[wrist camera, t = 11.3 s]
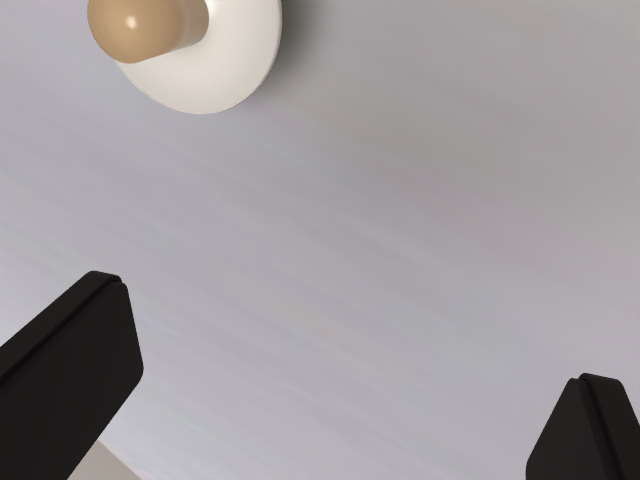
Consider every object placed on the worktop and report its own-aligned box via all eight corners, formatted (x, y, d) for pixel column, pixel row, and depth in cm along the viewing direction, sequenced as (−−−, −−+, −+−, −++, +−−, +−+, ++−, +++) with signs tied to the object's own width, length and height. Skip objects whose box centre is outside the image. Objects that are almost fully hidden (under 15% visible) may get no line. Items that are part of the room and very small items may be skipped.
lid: (282, -108, 24) (228, -131, 18) (282, 119, 30) (242, 157, 24) (80, -114, 26) (-26, -136, 20) (119, 100, 32) (47, 130, 26)
